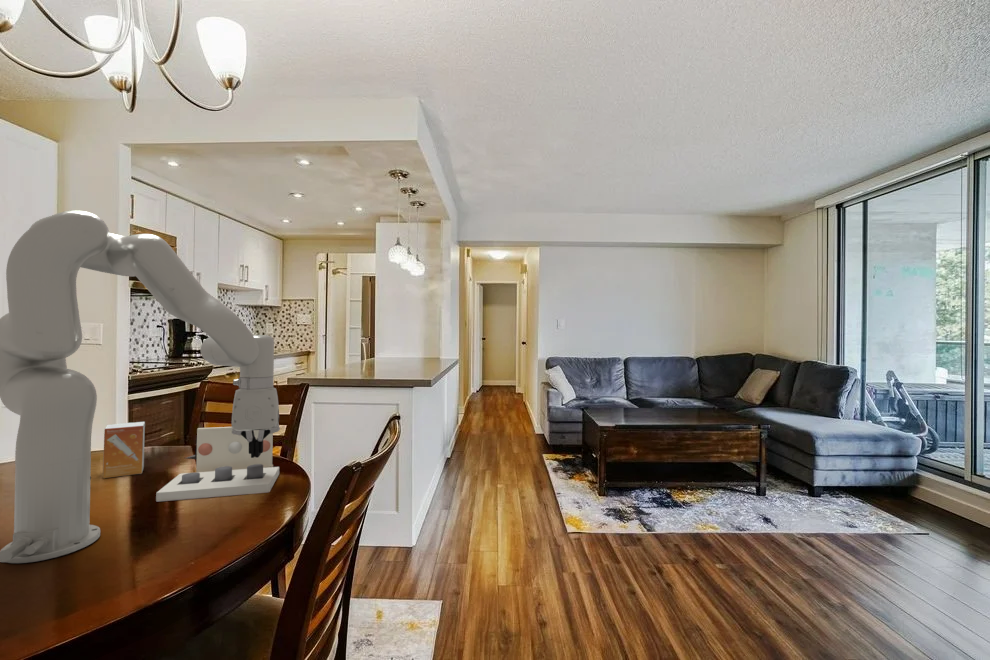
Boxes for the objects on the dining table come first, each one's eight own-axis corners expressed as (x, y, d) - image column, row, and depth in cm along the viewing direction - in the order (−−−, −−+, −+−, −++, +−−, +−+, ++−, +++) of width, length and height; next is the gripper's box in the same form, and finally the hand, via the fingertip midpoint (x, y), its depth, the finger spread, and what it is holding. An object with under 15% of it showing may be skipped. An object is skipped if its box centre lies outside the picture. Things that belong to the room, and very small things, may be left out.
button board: (269, 492, 106) (269, 483, 106) (156, 501, 99) (156, 492, 99) (279, 474, 119) (279, 466, 119) (180, 481, 112) (180, 473, 112)
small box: (102, 479, 113) (103, 428, 113) (105, 472, 118) (106, 424, 118) (142, 473, 118) (143, 425, 118) (144, 467, 123) (145, 421, 123)
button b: (229, 482, 108) (229, 470, 108) (212, 483, 107) (213, 471, 107) (233, 477, 111) (233, 465, 111) (217, 478, 110) (217, 466, 110)
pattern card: (270, 472, 120) (271, 426, 120) (194, 478, 115) (195, 430, 115) (273, 468, 124) (273, 423, 124) (199, 473, 119) (200, 426, 119)
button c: (261, 479, 110) (261, 467, 110) (245, 481, 109) (245, 469, 109) (264, 475, 113) (264, 463, 113) (248, 476, 112) (248, 464, 112)
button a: (196, 489, 106) (196, 476, 106) (179, 490, 105) (179, 477, 105) (201, 484, 109) (201, 472, 109) (184, 485, 108) (185, 473, 108)
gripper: (218, 386, 106) (217, 462, 106) (286, 384, 110) (285, 458, 110) (227, 382, 113) (226, 454, 113) (291, 381, 117) (290, 450, 117)
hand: (255, 456), depth 111 cm, fingers closed
